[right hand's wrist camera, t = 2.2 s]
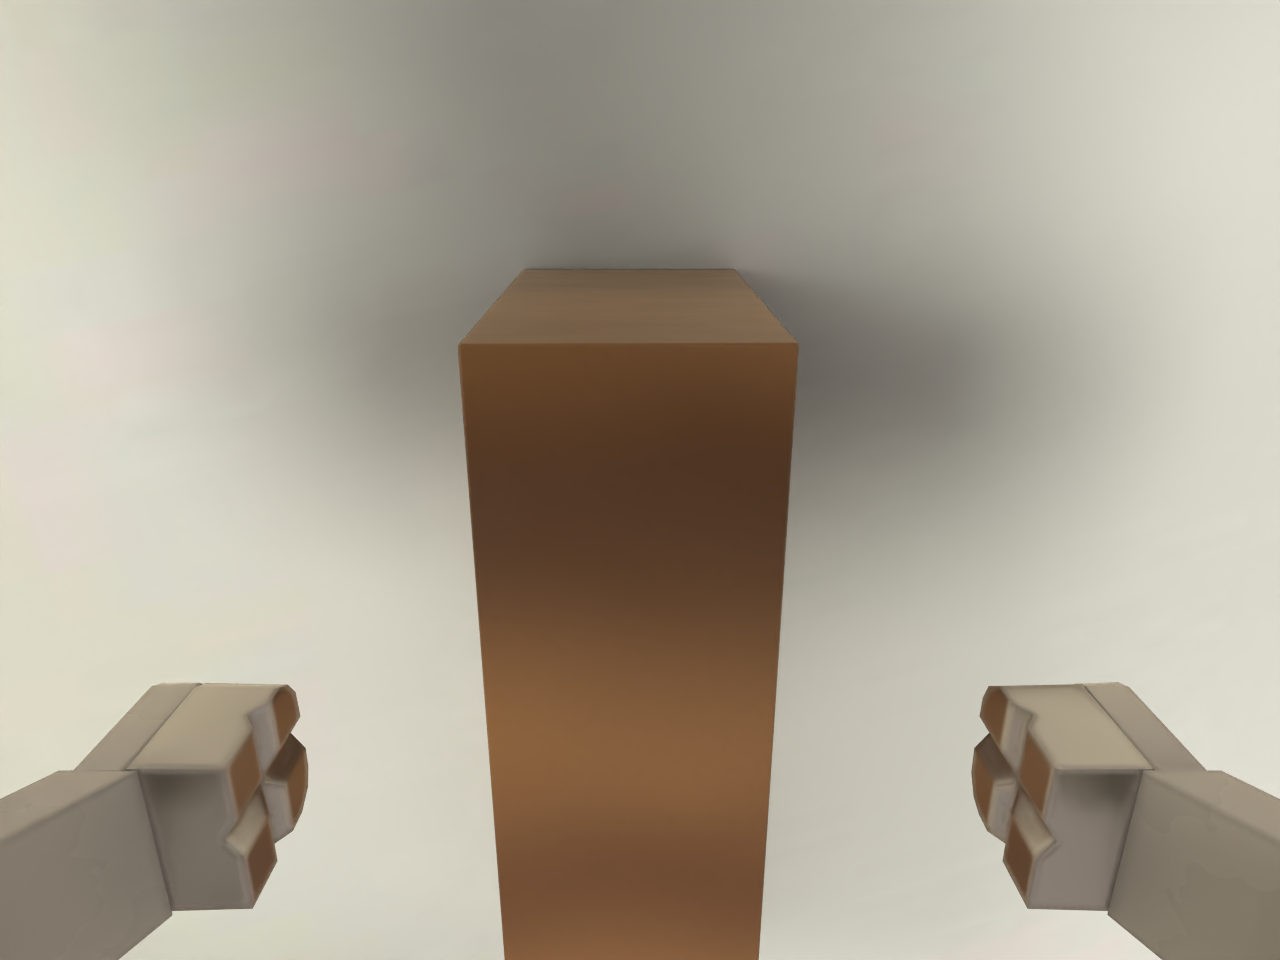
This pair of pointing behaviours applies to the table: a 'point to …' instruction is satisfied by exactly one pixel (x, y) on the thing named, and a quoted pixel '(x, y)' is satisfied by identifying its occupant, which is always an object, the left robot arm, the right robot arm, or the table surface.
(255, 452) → the table surface
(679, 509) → the bar
